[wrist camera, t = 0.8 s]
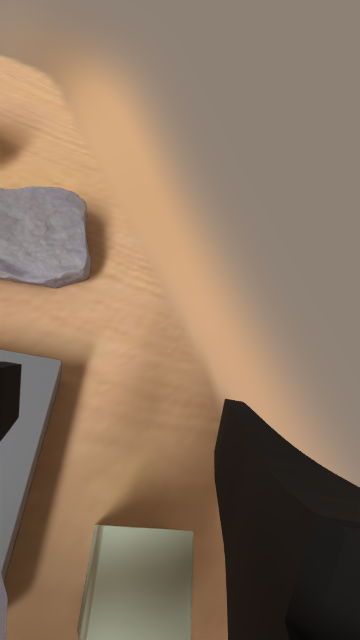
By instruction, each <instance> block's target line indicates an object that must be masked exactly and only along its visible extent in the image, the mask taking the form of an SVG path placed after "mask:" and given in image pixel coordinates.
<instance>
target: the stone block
mask: <svg viewBox="0 0 360 640" xmlns="http://www.w3.org/2000/svg"><path fill="white" fill-rule="evenodd" d="M86 220H87V205H86V202H85V201H84V200H83V199H81V198H80V197H79V195H77V194H76V193H73V192H72V191H68V190H64V189H62V188H55V187H26V188H22V189H11V190H7V189H1V188H0V279H5V280H11V281H13V282H18V283H27V284H31V285H40V286H46V287H50V288H59V287H61V286H64V285H69V284H73V283H76V282H80V281H83V280H85V279H87V278H89V275H90V265H91V257H90V254H89V250H88V244H87V239H86V232H85V229H86Z"/></svg>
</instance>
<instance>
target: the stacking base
mask: <svg viewBox="0 0 360 640" xmlns="http://www.w3.org/2000/svg"><path fill="white" fill-rule="evenodd" d="M3 361H5V362H11V363H17V364H22V370H21V388H20V406H19V418H18V419H17V421H16V422H15V423H14V425H13V426H12V427H11V429H10V430H9V431H8V433H7V434H6V435H5V436H4V438H3V439H2V440H1V441H0V571H1V575H2V579H3V583H4V580H5V577H6V573H7V569H8V566H9V562H10V559H11V555H12V551H13V548H14V544H15V541H16V537H17V533H18V530H19V526H20V523H21V519H22V515H23V512H24V508H25V505H26V501H27V497H28V494H29V490H30V487H31V483H32V479H33V476H34V472H35V469H36V465H37V461H38V458H39V454H40V451H41V447H42V443H43V440H44V436H45V433H46V429H47V425H48V422H49V418H50V415H51V411H52V407H53V404H54V400H55V397H56V393H57V389H58V386H59V382H60V379H61V366H62V360H56V359H51V358H45V357H40V356H34V355H28V354H23V353H17V352H11V351H6V350H0V362H3Z"/></svg>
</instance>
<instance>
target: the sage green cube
mask: <svg viewBox="0 0 360 640" xmlns="http://www.w3.org/2000/svg"><path fill="white" fill-rule="evenodd" d="M193 533H194V531H185V530H174V529H160V528H144V527H128V526H112V525H96V524H95V528H94V534H93V540H92V546H91V552H90V558H89V564H88V570H87V575H86V581H85V587H84V593H83V599H82V605H81V611H80V617H79V623H78V629H77V631H78V636H79V640H191V613H192V573H193Z"/></svg>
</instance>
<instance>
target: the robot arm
mask: <svg viewBox="0 0 360 640" xmlns="http://www.w3.org/2000/svg"><path fill="white" fill-rule="evenodd" d="M21 370H22V364H17V363H11V362H5V361H3V362H0V441H1V440H2V439H3V438H4V436H5V435H6V434H7V433H8V431H9V430H10V429H11V427H12V426H13V425H14V423H15V422H16V421H17V419H18V418H19V406H20V388H21ZM214 468H215V484H216V492H217V499H218V506H219V513H220V521H221V528H222V535H223V542H224V552H225V565H226V588H227V616H228V640H360V487H357V486H356V485H354V484H352V483H350V482H349V481H347V480H345V479H343V478H342V477H340V476H338V475H336V474H334V473H333V472H331V471H329V470H328V469H326V468H324V467H323V466H321V465H320V464H318V463H317V462H315V461H314V460H312V459H311V458H309V457H308V456H306V455H305V454H303V453H302V452H301V451H299V450H298V449H297V448H295V447H294V446H293V445H291V444H290V443H289V442H288V441H286V440H285V439H284V438H283V437H282V436H281V435H279V434H278V433H277V432H276V431H275V430H274V429H272V428H271V427H270V426H269V425H268V424H267V423H266V422H265V421H264V420H263V419H262V418H260V417H259V416H258V415H257V414H256V413H255V412H254V411H253V410H252V409H251V408H250V407H249V406H247V405H246V404H245V403H244V402H241V401H235V400H229V399H225V402H224V407H223V411H222V416H221V421H220V426H219V431H218V436H217V441H216V446H215V451H214ZM7 603H8V598H7V594H6V590H5V587H4V583H3V579H2V575H1V571H0V640H6V622H7Z"/></svg>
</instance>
